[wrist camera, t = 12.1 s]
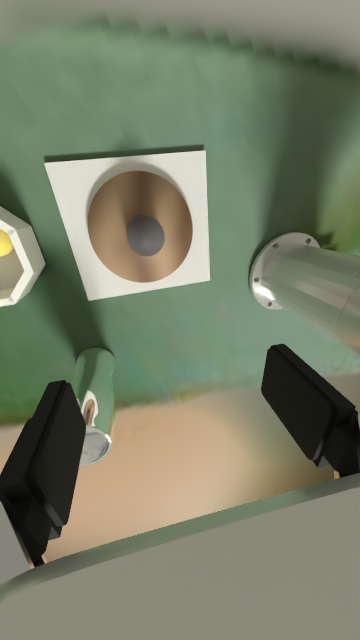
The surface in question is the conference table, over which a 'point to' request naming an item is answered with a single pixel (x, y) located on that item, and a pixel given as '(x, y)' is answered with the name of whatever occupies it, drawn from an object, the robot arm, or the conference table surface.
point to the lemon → (5, 243)
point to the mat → (86, 179)
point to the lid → (140, 226)
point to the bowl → (18, 260)
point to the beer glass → (95, 402)
